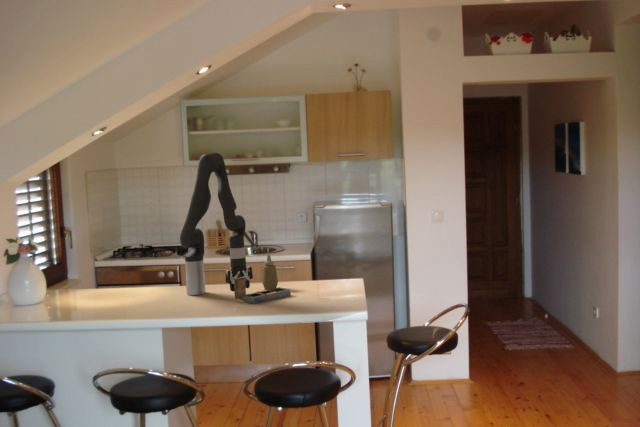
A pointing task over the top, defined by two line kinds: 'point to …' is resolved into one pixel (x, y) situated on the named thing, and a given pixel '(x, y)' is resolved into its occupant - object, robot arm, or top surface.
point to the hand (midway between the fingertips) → (240, 289)
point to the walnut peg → (239, 288)
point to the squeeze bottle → (269, 274)
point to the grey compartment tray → (266, 295)
